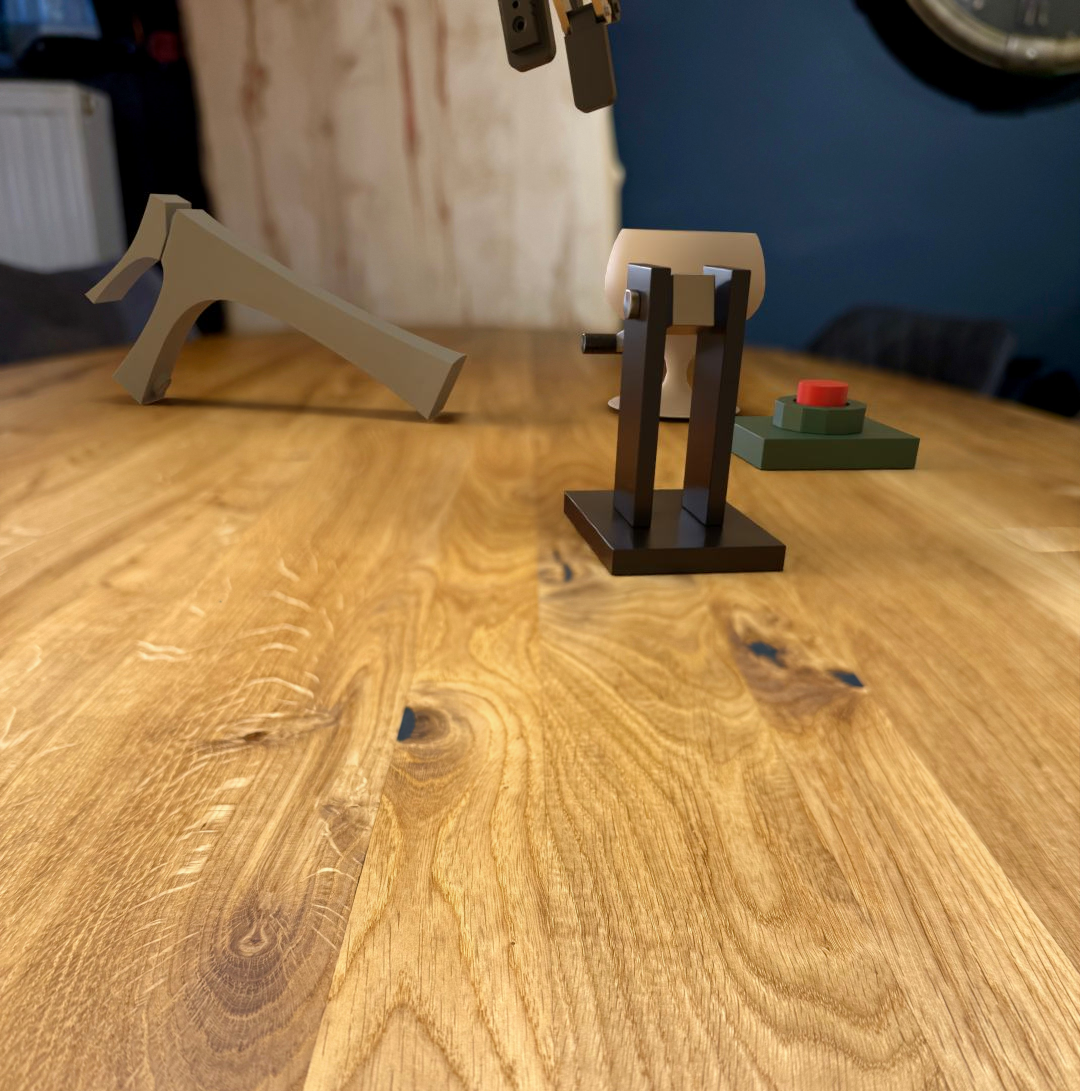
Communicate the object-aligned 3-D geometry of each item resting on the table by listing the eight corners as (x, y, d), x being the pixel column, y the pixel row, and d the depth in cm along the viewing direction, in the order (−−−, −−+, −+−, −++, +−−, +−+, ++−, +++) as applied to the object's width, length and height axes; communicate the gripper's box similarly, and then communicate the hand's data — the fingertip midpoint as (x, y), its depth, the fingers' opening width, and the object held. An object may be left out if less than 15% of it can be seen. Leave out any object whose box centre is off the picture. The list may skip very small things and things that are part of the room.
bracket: (563, 512, 61) (573, 258, 55) (707, 509, 63) (733, 262, 57) (611, 575, 51) (631, 270, 45) (783, 570, 52) (824, 275, 46)
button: (832, 403, 79) (836, 379, 78) (853, 411, 76) (857, 386, 75) (788, 403, 78) (791, 379, 77) (807, 411, 75) (811, 386, 74)
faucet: (393, 517, 96) (98, 357, 94) (469, 352, 89) (151, 172, 86) (374, 536, 91) (61, 365, 88) (454, 361, 83) (114, 169, 81)
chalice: (571, 401, 98) (579, 226, 92) (696, 396, 104) (711, 231, 97) (645, 427, 87) (660, 230, 80) (781, 420, 92) (805, 235, 86)
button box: (859, 443, 84) (868, 392, 82) (915, 468, 76) (925, 412, 74) (718, 444, 81) (724, 392, 80) (760, 470, 74) (767, 412, 72)
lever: (581, 365, 64) (580, 324, 63) (659, 366, 64) (659, 325, 64) (644, 324, 50) (644, 272, 50) (742, 326, 51) (743, 274, 50)
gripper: (515, -449, 40) (587, 19, 44) (630, -253, 52) (678, 97, 56) (355, -350, 43) (435, 78, 47) (499, -188, 56) (553, 139, 59)
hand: (567, 88), depth 52 cm, fingers open, 8 cm apart
